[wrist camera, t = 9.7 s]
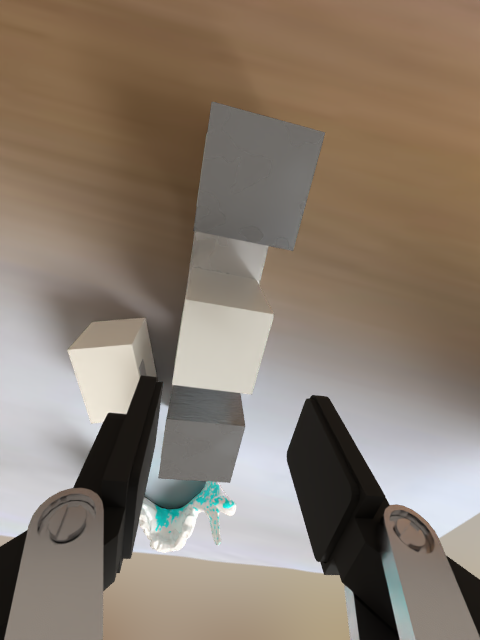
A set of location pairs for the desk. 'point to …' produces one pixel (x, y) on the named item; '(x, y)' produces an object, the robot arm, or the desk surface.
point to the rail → (236, 261)
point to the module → (222, 332)
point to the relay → (111, 364)
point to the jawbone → (184, 518)
